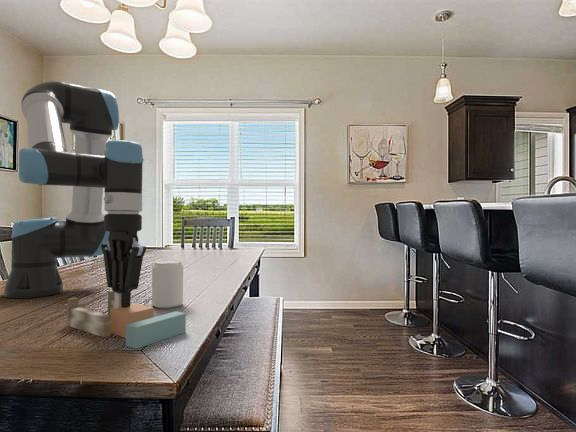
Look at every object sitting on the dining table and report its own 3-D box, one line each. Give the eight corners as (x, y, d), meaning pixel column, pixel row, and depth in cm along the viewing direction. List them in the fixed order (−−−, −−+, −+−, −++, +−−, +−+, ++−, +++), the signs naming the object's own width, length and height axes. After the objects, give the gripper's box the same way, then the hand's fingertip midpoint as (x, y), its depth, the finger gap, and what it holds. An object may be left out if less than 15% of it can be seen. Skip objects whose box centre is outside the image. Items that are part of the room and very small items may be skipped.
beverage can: (173, 310, 96) (174, 264, 96) (145, 308, 98) (146, 263, 98) (188, 302, 104) (188, 260, 104) (161, 301, 106) (162, 259, 106)
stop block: (125, 345, 70) (126, 324, 70) (175, 329, 80) (176, 311, 80) (135, 349, 68) (135, 327, 68) (185, 332, 78) (185, 313, 78)
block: (110, 333, 77) (111, 309, 77) (136, 326, 82) (136, 303, 82) (128, 338, 74) (128, 313, 74) (153, 330, 79) (153, 307, 79)
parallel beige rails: (67, 325, 82) (67, 298, 82) (113, 314, 91) (113, 290, 91) (103, 337, 75) (104, 307, 75) (150, 324, 84) (150, 297, 84)
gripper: (89, 212, 81) (88, 320, 81) (125, 213, 74) (124, 331, 74) (121, 213, 87) (119, 313, 87) (157, 213, 80) (155, 322, 80)
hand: (121, 321), depth 80 cm, fingers closed
